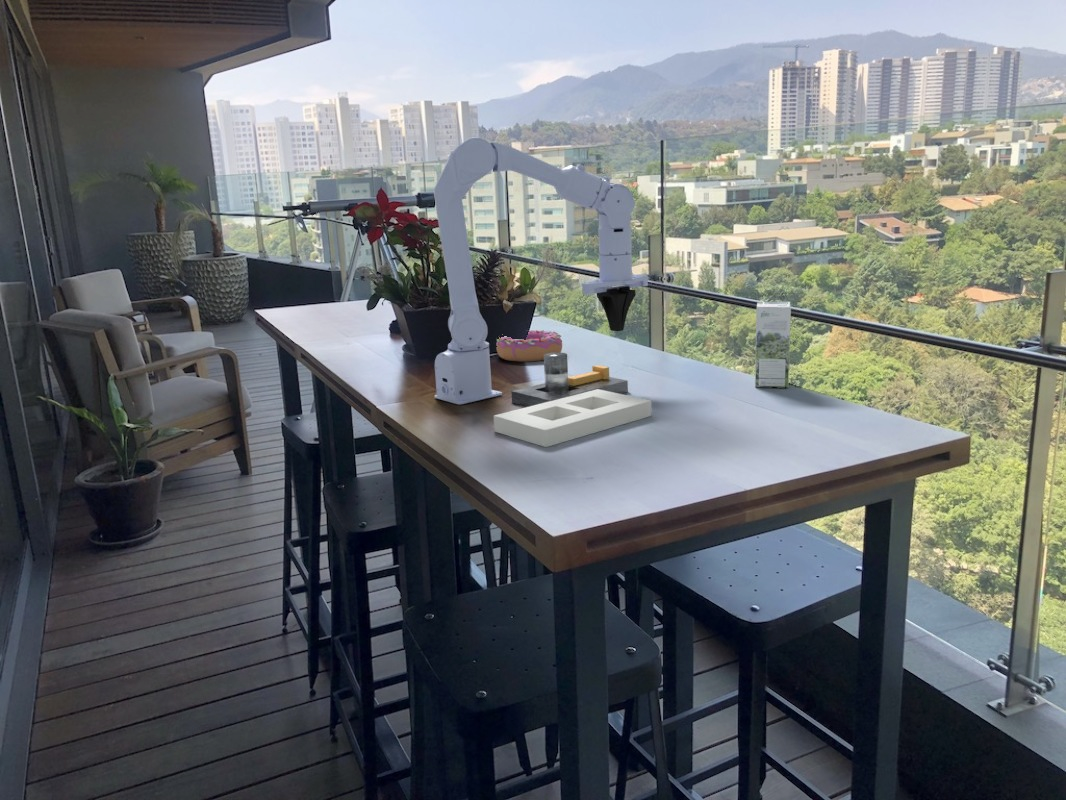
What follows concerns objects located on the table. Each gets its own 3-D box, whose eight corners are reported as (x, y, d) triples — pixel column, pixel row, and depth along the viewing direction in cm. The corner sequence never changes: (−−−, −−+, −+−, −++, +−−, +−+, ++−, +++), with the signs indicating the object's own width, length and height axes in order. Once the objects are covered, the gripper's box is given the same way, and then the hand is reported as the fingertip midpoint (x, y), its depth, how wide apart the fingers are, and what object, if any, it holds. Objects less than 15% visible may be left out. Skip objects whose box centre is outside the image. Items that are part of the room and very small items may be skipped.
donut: (521, 348, 198) (520, 327, 197) (574, 353, 190) (574, 330, 189) (483, 360, 187) (482, 337, 185) (538, 366, 179) (537, 342, 177)
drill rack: (545, 447, 123) (545, 430, 123) (494, 431, 132) (493, 415, 132) (651, 415, 137) (651, 400, 136) (598, 403, 146) (597, 389, 145)
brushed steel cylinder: (556, 404, 147) (554, 358, 145) (540, 400, 150) (538, 355, 148) (573, 400, 149) (572, 354, 147) (558, 396, 152) (556, 351, 150)
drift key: (576, 386, 150) (576, 375, 149) (564, 383, 152) (564, 372, 151) (609, 378, 154) (609, 367, 154) (597, 375, 157) (597, 365, 156)
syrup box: (788, 381, 155) (790, 300, 152) (788, 389, 150) (791, 305, 146) (755, 380, 157) (757, 300, 153) (754, 388, 151) (756, 305, 148)
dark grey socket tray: (550, 412, 142) (549, 400, 141) (511, 402, 149) (511, 391, 149) (627, 391, 153) (627, 380, 153) (588, 383, 161) (588, 372, 160)
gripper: (601, 258, 145) (603, 338, 148) (660, 251, 154) (660, 326, 157) (573, 257, 150) (575, 334, 154) (631, 250, 159) (632, 323, 163)
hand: (616, 330), depth 156 cm, fingers closed
